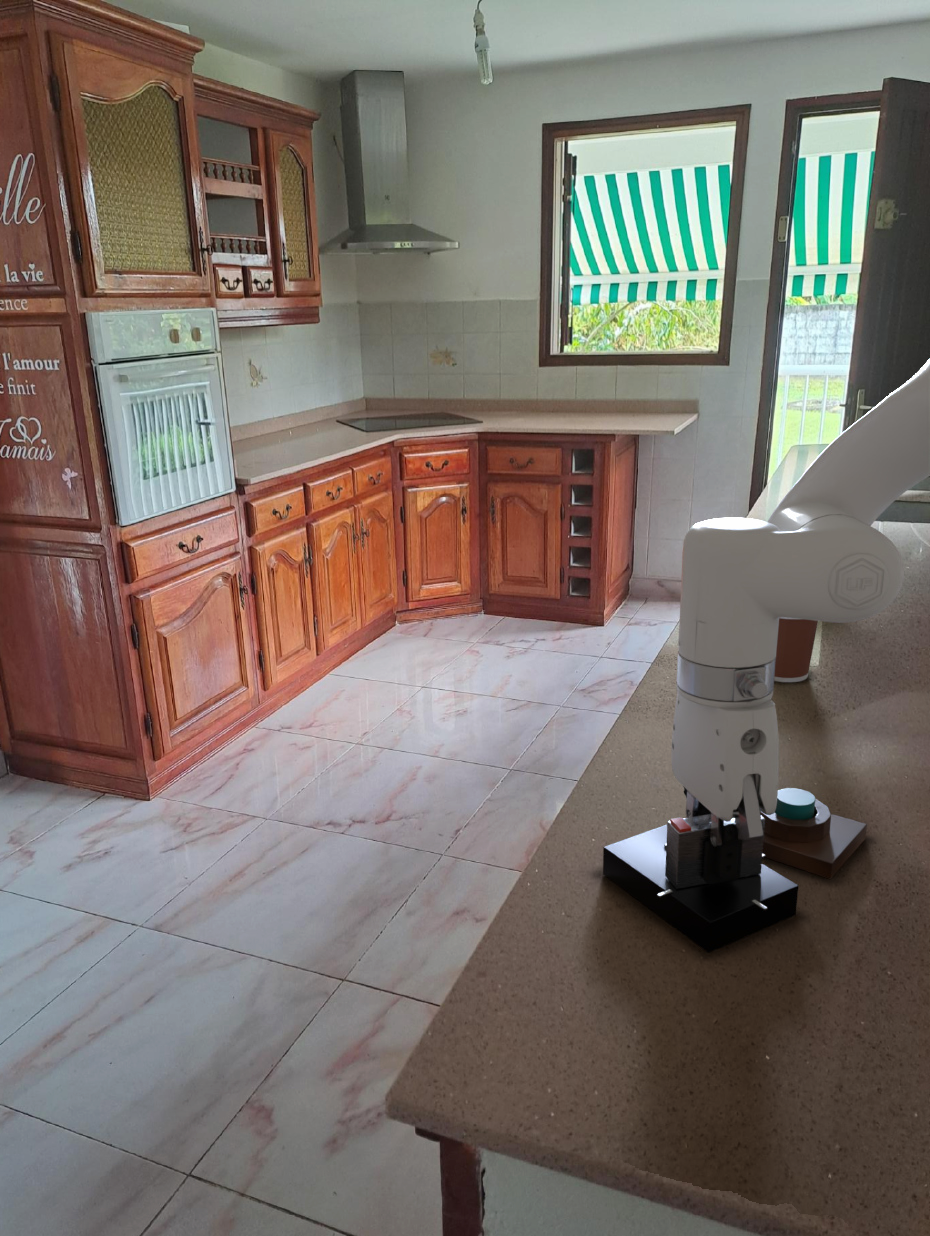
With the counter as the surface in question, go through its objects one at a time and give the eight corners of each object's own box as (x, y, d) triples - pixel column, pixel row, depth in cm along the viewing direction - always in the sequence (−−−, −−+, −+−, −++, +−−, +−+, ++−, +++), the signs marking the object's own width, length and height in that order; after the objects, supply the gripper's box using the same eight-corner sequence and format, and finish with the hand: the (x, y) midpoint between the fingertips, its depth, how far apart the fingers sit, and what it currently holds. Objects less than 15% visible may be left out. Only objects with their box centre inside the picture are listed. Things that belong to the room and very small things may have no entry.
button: (819, 810, 93) (821, 794, 92) (804, 825, 91) (806, 809, 90) (783, 800, 95) (784, 784, 95) (768, 814, 93) (769, 798, 92)
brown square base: (865, 839, 94) (869, 807, 92) (830, 879, 88) (834, 846, 86) (757, 806, 101) (759, 777, 100) (717, 842, 95) (719, 810, 93)
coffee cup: (786, 659, 141) (792, 580, 137) (832, 678, 133) (841, 595, 129) (736, 670, 138) (741, 589, 134) (780, 690, 130) (788, 605, 126)
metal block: (747, 861, 86) (751, 804, 84) (761, 874, 84) (765, 816, 82) (664, 876, 84) (667, 818, 82) (676, 889, 82) (679, 830, 80)
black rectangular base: (815, 917, 82) (818, 886, 81) (707, 965, 77) (709, 932, 76) (692, 841, 95) (694, 813, 94) (593, 877, 90) (593, 848, 89)
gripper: (826, 704, 71) (804, 915, 77) (717, 639, 85) (706, 821, 92) (733, 717, 69) (719, 931, 76) (639, 649, 84) (633, 833, 90)
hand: (712, 869), depth 84 cm, fingers closed on metal block, 2 cm apart
